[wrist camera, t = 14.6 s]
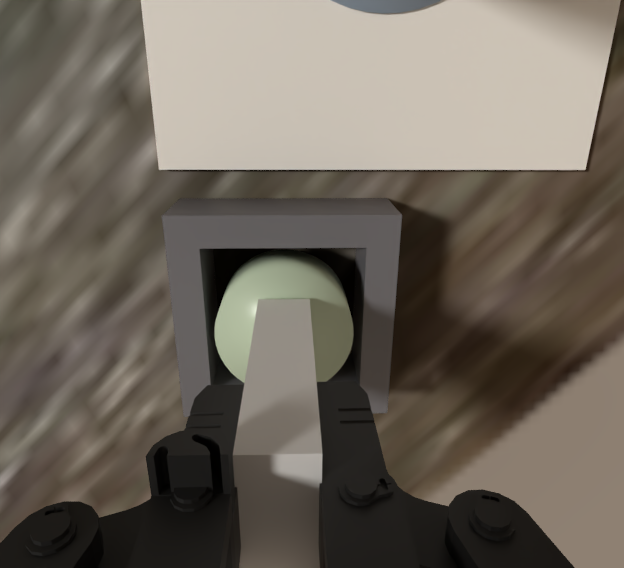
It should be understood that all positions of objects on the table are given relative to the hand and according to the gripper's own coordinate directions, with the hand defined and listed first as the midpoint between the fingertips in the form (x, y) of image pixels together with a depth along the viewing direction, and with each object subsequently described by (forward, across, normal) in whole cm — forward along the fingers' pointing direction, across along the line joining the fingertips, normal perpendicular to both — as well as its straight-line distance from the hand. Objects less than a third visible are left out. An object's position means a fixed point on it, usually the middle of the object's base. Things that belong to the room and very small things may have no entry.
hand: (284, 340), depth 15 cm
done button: (+2, 0, 0) cm, 2 cm away
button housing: (+4, 0, 0) cm, 4 cm away
